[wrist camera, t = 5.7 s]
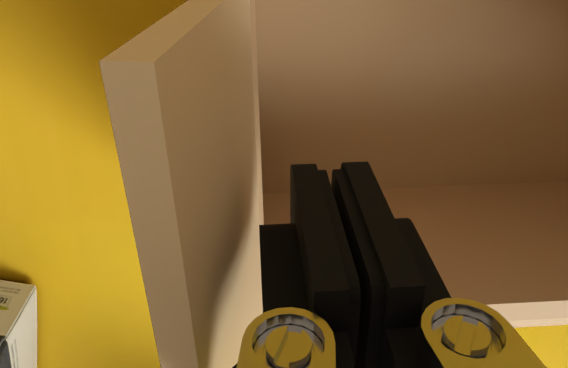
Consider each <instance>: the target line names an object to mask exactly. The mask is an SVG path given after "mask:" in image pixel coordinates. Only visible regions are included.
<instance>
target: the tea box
mask: <svg viewBox="0 0 568 368" xmlns="http://www.w3.org/2000/svg"><path fill="white" fill-rule="evenodd" d="M0 368H37V290H36V286H35V285H31V284H24V283H18V282H11V281H5V280H0Z"/></svg>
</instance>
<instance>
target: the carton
mask: <svg viewBox="0 0 568 368" xmlns="http://www.w3.org/2000/svg"><path fill="white" fill-rule="evenodd" d="M250 13H251V36H252V58H253V80H254V102H255V125H256V147H257V169H258V192H259V214H260V225H268V224H288V223H290V166H291V165H293V164H316V165H317V168H318V170H326V171H327V174H328V177H329V181H330V184H331V179H332V170H333V169H341V164H342V162H365V161H367V162H368V163H369V164H370V166H371V169H372V171H373V173H374V175H375V177H376V179H377V181H378V184H379V186H380V188H381V190H382V192H383V194H384V196H385V199H386V201H387V203H388V205H389V207H390V209H391V212H392V214H393V216H394V218H409V219H411V221H412V222H413V224H414V226H415V228H416V230H417V232H418V234H419V235H420V237H421V239H422V241H423V243H424V245H425V247H426V249H427V251H428V253H429V255H430V257H431V259H432V261H433V263H434V265H435V267H436V268H437V270H438V272H439V274H440V276H441V278H442V280H443V282H444V284H445V286H446V288H447V290H448V292H449V294H450V296H451V298H464V299H471V300H474V301H477V302H480V303H482V304H485V305H487V306H489V307H491V308H492V309H494V310H495V311H497V312H499V313H500V314H501V315H502V316H503V317H504V318H505V319H506V320H507V321H508V322H509V323H510V324H511V325H512V327H513V328H515V327H533V326H551V325H568V0H250Z"/></svg>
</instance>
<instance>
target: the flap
mask: <svg viewBox="0 0 568 368" xmlns="http://www.w3.org/2000/svg"><path fill="white" fill-rule="evenodd" d="M99 64H100V69H101V73H102V78H103V83H104V88H105V93H106V98H107V103H108V108H109V113H110V118H111V123H112V128H113V133H114V138H115V143H116V148H117V153H118V158H119V163H120V168H121V172H122V177H123V182H124V187H125V192H126V197H127V202H128V207H129V212H130V217H131V222H132V227H133V232H134V237H135V242H136V247H137V252H138V257H139V262H140V267H141V271H142V276H143V281H144V286H145V291H146V296H147V301H148V306H149V311H150V316H151V321H152V326H153V331H154V336H155V341H156V346H157V351H158V356H159V361H160V366H161V368H232V367H233V366H234V365H236V364H237V363H238V357H239V352H240V347H241V342H242V337H243V335H244V333H245V330H246V328H247V326H248V325H249V324H250V323H251V322H252V321H253V320H254V319H255V318H256V317H258V316H259V315H261V314H263V305H262V284H261V261H260V237H259V225H260V214H259V192H258V169H257V147H256V125H255V102H254V80H253V58H252V36H251V13H250V0H188V1H186V2H185V3H183V4H182V5H180V6H179V7H178V8H176V9H175V10H173V11H172V12H170V13H169V14H167V15H166V16H164V17H163V18H161V19H160V20H158V21H157V22H156V23H154V24H153V25H151V26H150V27H148V28H147V29H145V30H144V31H142V32H141V33H139V34H138V35H136V36H135V37H134V38H132V39H131V40H129V41H128V42H126V43H125V44H123V45H122V46H120V47H119V48H117V49H116V50H114V51H113V52H112V53H110V54H109V55H107V56H106V57H104V58H103V59H101V60H100V61H99Z"/></svg>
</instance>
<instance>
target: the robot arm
mask: <svg viewBox="0 0 568 368" xmlns="http://www.w3.org/2000/svg"><path fill="white" fill-rule="evenodd" d="M259 237H260V261H261V284H262V305H263V314H261V315H259V316H258V317H256V318H255V319H254V320H253V321H252V322H251V323H250V324H249V325H248V326H247V328H246V330H245V333H244V335H243V337H242V342H241V347H240V352H239V357H238V363H237V364H236V365H234V366H233V367H232V368H547V367H545V365H544V364H543V363H542V362H541V360H540V359H539V358H538V357H537V356H536V354H535V353H534V352H533V351H532V350H531V348H530V347H529V346H528V345H527V344H526V342H525V341H524V340H523V339H522V337H521V336H520V335H519V334H518V333H517V331H516V330H515V329H514V328H513V327H512V325H511V324H510V323H509V322H508V321H507V320H506V319H505V318H504V317H503V316H502V315H501V314H500V313H499V312H497V311H495V310H494V309H492V308H491V307H489V306H487V305H485V304H482V303H480V302H477V301H474V300H471V299H464V298H451V296H450V294H449V292H448V290H447V288H446V286H445V284H444V282H443V280H442V278H441V276H440V274H439V272H438V270H437V268H436V267H435V265H434V263H433V261H432V259H431V257H430V255H429V253H428V251H427V249H426V247H425V245H424V243H423V241H422V239H421V237H420V235H419V234H418V232H417V230H416V228H415V226H414V224H413V222H412V221H411V219H409V218H394V216H393V214H392V212H391V209H390V207H389V205H388V203H387V201H386V199H385V196H384V194H383V192H382V190H381V188H380V186H379V184H378V181H377V179H376V177H375V175H374V173H373V171H372V169H371V166H370V164H369V163H368V162H367V161H365V162H342V164H341V169H333V170H332V179H331V184H330V181H329V177H328V174H327V171H326V170H318V168H317V165H316V164H293V165H291V166H290V223H288V224H268V225H259Z"/></svg>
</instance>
